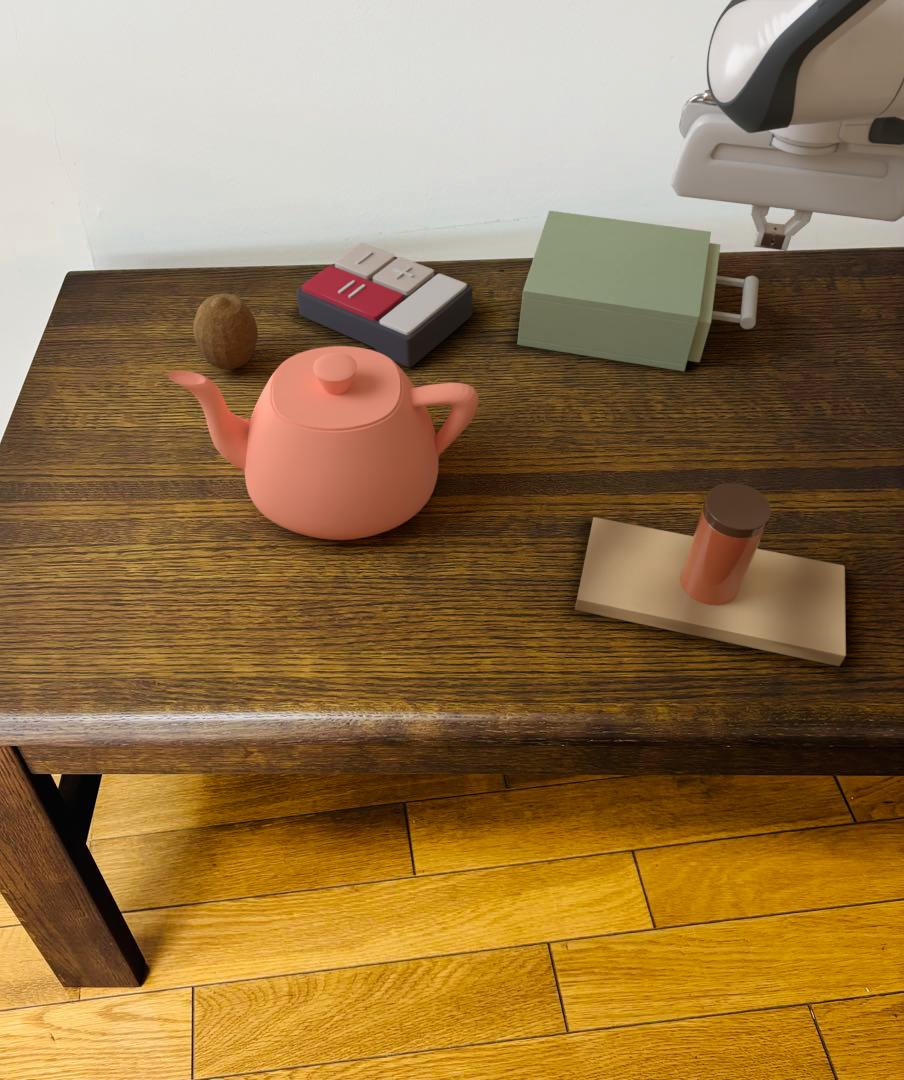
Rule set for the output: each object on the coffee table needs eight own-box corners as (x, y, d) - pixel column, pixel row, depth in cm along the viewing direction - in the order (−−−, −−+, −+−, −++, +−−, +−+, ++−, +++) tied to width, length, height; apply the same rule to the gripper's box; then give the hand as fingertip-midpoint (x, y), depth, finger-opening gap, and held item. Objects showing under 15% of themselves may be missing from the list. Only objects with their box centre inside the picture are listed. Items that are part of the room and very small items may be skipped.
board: (838, 576, 81) (845, 565, 80) (839, 667, 75) (846, 655, 74) (591, 528, 85) (593, 516, 84) (574, 610, 79) (577, 598, 78)
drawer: (751, 289, 105) (764, 249, 101) (745, 370, 96) (758, 329, 93) (563, 263, 109) (568, 223, 105) (541, 337, 100) (546, 298, 97)
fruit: (187, 367, 100) (173, 301, 94) (231, 337, 103) (220, 271, 97) (230, 393, 98) (219, 326, 92) (274, 360, 101) (266, 294, 95)
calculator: (360, 236, 108) (474, 279, 101) (363, 271, 111) (474, 314, 104) (293, 285, 103) (408, 333, 96) (298, 319, 106) (410, 369, 99)
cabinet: (696, 286, 107) (711, 231, 102) (684, 371, 98) (699, 316, 93) (542, 264, 110) (549, 210, 105) (517, 344, 101) (522, 290, 96)
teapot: (182, 555, 84) (151, 440, 74) (204, 420, 95) (181, 303, 85) (478, 551, 84) (488, 434, 73) (467, 416, 95) (474, 298, 84)
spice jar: (741, 566, 80) (772, 489, 73) (737, 610, 77) (770, 535, 70) (682, 554, 81) (708, 477, 74) (677, 598, 78) (703, 522, 71)
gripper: (683, 104, 83) (653, 249, 94) (949, 130, 79) (886, 279, 89) (690, 71, 87) (660, 213, 98) (943, 94, 83) (883, 241, 93)
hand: (770, 245), depth 93 cm, fingers closed
